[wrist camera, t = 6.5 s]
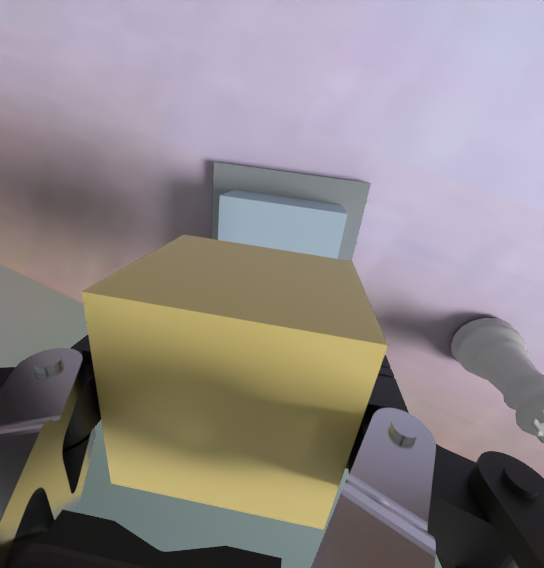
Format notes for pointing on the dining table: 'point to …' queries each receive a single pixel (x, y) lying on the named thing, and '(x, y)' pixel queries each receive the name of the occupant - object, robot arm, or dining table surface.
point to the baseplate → (297, 189)
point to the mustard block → (233, 374)
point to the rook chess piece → (503, 368)
